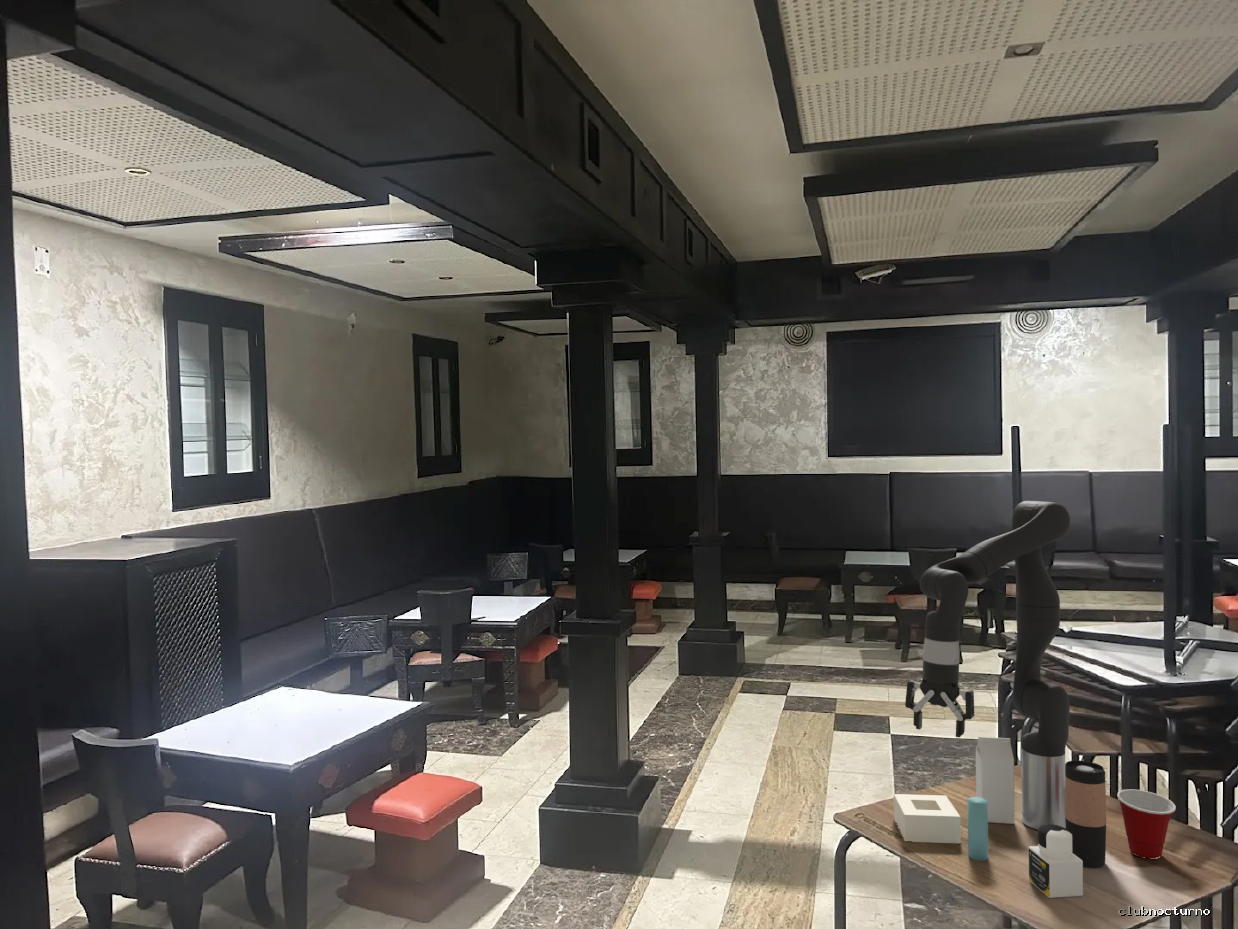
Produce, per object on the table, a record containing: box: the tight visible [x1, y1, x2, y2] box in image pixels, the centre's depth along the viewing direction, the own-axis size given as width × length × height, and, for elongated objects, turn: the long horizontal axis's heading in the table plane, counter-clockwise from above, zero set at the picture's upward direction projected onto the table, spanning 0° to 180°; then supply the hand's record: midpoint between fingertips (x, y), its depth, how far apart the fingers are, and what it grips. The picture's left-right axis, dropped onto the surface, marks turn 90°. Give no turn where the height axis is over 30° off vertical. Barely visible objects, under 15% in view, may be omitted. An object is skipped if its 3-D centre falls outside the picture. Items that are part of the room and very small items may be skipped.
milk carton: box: [975, 736, 1016, 825], centre depth 204 cm, size 7×7×19 cm
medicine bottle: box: [1028, 824, 1084, 899], centre depth 171 cm, size 7×7×12 cm
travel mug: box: [1065, 759, 1107, 869], centre depth 182 cm, size 8×8×20 cm
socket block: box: [893, 793, 962, 844], centre depth 198 cm, size 12×12×6 cm
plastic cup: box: [1116, 788, 1177, 858], centre depth 185 cm, size 11×11×12 cm
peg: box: [967, 796, 989, 862], centre depth 185 cm, size 4×4×12 cm
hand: (938, 732), depth 190 cm, fingers open, 8 cm apart
